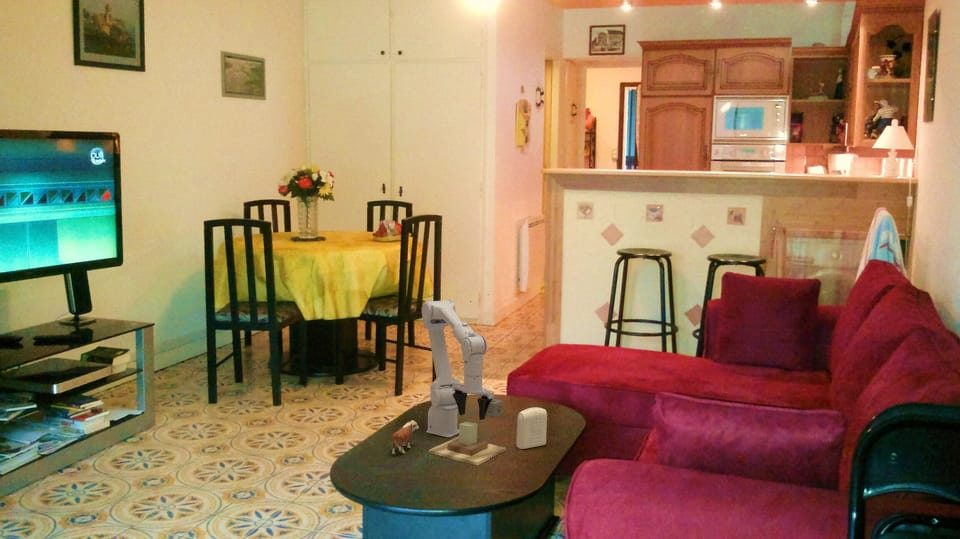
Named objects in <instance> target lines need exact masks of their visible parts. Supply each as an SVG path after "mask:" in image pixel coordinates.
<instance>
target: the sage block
mask: <svg viewBox="0 0 960 539" xmlns="http://www.w3.org/2000/svg"><path fill="white" fill-rule="evenodd" d="M458 429H459V434H458V437H459V443H461V444H465V445H468V446H469V445H472V444H474V443H477V439H478V423H476V422H473V421H468V420H467V421H464V422H461V423H459V424H458Z"/></svg>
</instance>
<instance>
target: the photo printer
mask: <svg viewBox="0 0 960 539" xmlns="http://www.w3.org/2000/svg"><path fill="white" fill-rule="evenodd" d="M516 419H517V420H516V441H515V442H516V444H515V445H516V447H517V449H520V450H523V449H529V448H535V447H541V446H545V445H546V444H547V424H548V412H547V410H546V409H544V408H542V407H528V408H526V409H523V410H522V411H520V412H519V413H518V414H517V418H516Z"/></svg>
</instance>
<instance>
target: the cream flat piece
mask: <svg viewBox="0 0 960 539" xmlns="http://www.w3.org/2000/svg"><path fill="white" fill-rule="evenodd" d="M504 451H505V452H506V451H507V447H504V446H500V445H495V444H491V443H489V441H487V440H482V439H479V438H477V443H474V444H472V445H469V446H468V445H465V444H461V443H459V436H457V437H454V438H452V439H450V440H447V441H446V442H443V443H442V444H439V445H437V446H434V447H432V448H430V449H429V450H428V454H430V453H431V455H434V454H435V456H438V455H439V457H442V456H443V458H446V457H447V459H451V460H453V461H458V462H462V463H465V464H470V465H474V466H479V465H482V464H483V463H485V462H487V461H489V460H491V459H493V458H494V456H495V457H497V456H499V455H500V454H499V453H501V454H503V453H505V452H504ZM502 452H503V453H502ZM498 454H499V455H498ZM496 455H497V456H496ZM492 457H493V458H492ZM490 458H491V459H490Z"/></svg>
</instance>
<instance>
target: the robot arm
mask: <svg viewBox="0 0 960 539" xmlns="http://www.w3.org/2000/svg"><path fill="white" fill-rule="evenodd" d="M421 317H422V321H423V322H422V323H423V326H424V328H426V329H427V331H428V332H427V334H428V338H429V343H430V347H431V354H432V359H433V364H434V371H435V376H436V378H435V379H434V381H433V382H432V383H431V385H430V388H429V389H430V391H429V392H430V398H429V399H430V402H431V406H430V407H429V409H428V413H427V430H426V432H425V433H427V434H432V435H436V436H439V437H440V436H441V437H443V438H452V437H455V436H456V435H459V428H458V415H459V416H463V415H465V414H466V409H467V407H466V405H467V404H466V403H467V398H468V394H469V395H473V396H479V397H478V398H477V403H478V410H479V411H478V416H479V417H478V418H479V421H483V420H485V419H486V412H487V409H488V407H489V405H490V403H491V401H492V400H493V399H495V397H494V396H495V391H493V390H490V389H487V388H485V387H483V362H484V361H483V360H484V354H485V353H486V352H487V349H488V348H487V347H488V345H487V339H486V338H485V337H484V335H482V334H477V333H476V332H475V331H474V330H473V329H472V328H471V326H470V325H469V324H468V323H467V322H464V321H462V320H461V319H460V317H459V315H458V314H457V312H456V304H455V303H454V302H453V300H452V299H446V300H434V301H433V300H432V301H427V300H426V301H424V303H423V305H422V308H421ZM448 326H449V327H451V329H452V335H453V337H454V338H455V339H456V340H457V341H458V343H459V344H460V349H461V352H462V360H463V361H464V362H463V384H461V383H460V381H459V379H457V378H456V377H454V376H453V375H452V369H451V365H450V358H449V353H448V348H447V344H446V342H447V341H446V338H445V332H444V330H445V328H446V327H448Z"/></svg>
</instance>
